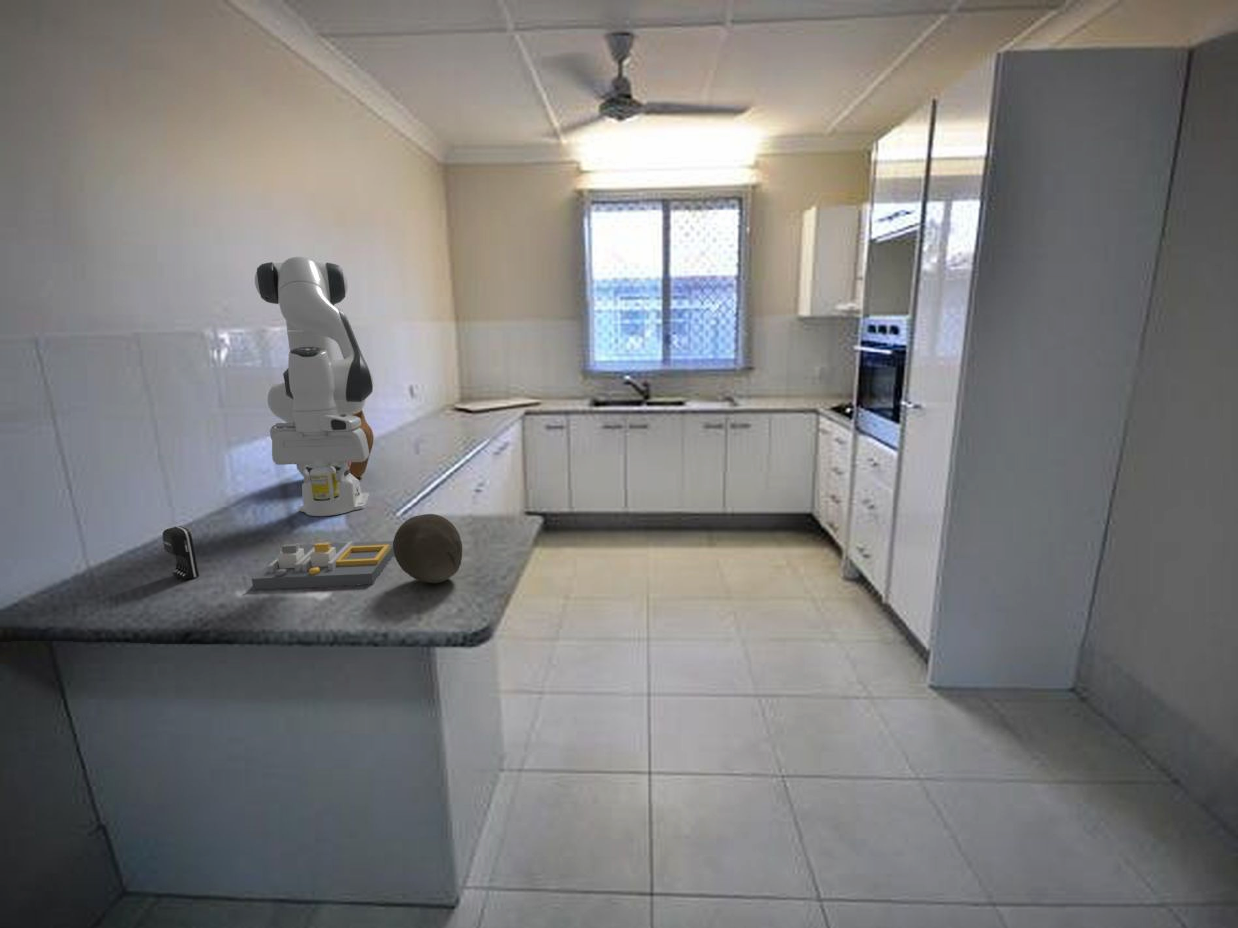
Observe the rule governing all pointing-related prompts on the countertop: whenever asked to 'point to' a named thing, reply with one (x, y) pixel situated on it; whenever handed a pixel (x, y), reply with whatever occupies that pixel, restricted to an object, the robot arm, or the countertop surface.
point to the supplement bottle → (324, 482)
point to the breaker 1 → (290, 555)
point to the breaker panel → (330, 567)
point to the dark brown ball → (428, 548)
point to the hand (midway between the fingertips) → (324, 482)
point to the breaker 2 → (322, 554)
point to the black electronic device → (181, 551)
